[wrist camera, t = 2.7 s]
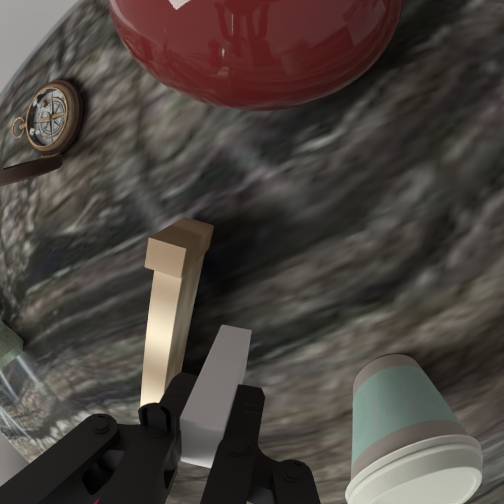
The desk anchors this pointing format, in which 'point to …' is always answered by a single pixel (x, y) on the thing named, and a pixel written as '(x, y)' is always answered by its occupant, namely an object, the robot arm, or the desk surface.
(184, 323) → the gate
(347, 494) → the coffee cup
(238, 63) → the red vase
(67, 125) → the compass
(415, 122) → the desk surface
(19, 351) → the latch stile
